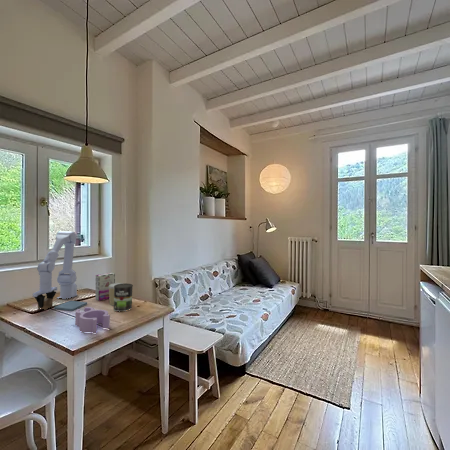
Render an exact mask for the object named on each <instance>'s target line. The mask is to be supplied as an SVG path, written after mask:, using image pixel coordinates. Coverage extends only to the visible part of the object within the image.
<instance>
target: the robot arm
mask: <svg viewBox="0 0 450 450" xmlns="http://www.w3.org/2000/svg"><path fill="white" fill-rule="evenodd" d="M55 234H56V235H55V242H54V244H53V246H52V249H51V250H49V251H48V252H47V254H45V257H44V259H43V260H42V261H41V262H40V263H38V265H37V268H36V269H37V270H36V271H38V276H39V290H37V291H36V292H33V293H32V297H33V298H35V300H36V302H37V306H38V305H39V307H41V308H42V307H43V304H44V298H51V299H53V300H54V297H55V295H56V294H57V291H58V286H52V281H53V280H52V278H53V277H52V276H53V271H54V269H55V265H56V261H57V259H58V257H59V253H60V250H61V249H62V247H63V246H64V254H63V255H64V256H63V266H62V269H61V270H60V271H58V275H57V277H56V281H57V283H58V284H59V285H60V286H59V291H60V292H59V296H57V297H56V299H59V298H62V299H61V300H69V299H71V297H72V298H74V297H77V296H78V293H77V292H78V291H77V290H78V288H77V287H78V286H77V283H76V281H77V272H76V271H75V270H74V269H73V260H74V253H75V251H74V249H75V244H77V234H76V232H75V231H74V230H73V231H68V230H67V231H62V230H59V231H57V233H55ZM66 298H67V299H66ZM68 298H69V299H68Z"/></svg>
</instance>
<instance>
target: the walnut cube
mask: <svg viewBox="0 0 450 450" xmlns="http://www.w3.org/2000/svg"><path fill="white" fill-rule="evenodd" d="M53 302H54V298H53V299H51V298H47V297H45V298H44V304H43V307H42V308H41V307H39V305H38V304H37V309H38V308H41V309H44V310H43V311H47V310H48V308H49V309H51V308H53V307H52V306H53ZM50 307H51V308H50ZM41 309H40V310H41Z"/></svg>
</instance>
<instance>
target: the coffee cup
mask: <svg viewBox="0 0 450 450" xmlns="http://www.w3.org/2000/svg"><path fill="white" fill-rule="evenodd" d="M117 284H124V283H123V282H115V283H114V284H110V285H109V301H108V302H109V305H110V306H111V307H114V286H115V285H117Z"/></svg>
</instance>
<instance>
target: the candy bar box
mask: <svg viewBox="0 0 450 450" xmlns="http://www.w3.org/2000/svg"><path fill="white" fill-rule="evenodd" d="M114 283H116V273H114V272H107V273H102V274H96V275H95V300H96V301H97V302H101V301H105V300H108V299H109V285H110V284H114Z"/></svg>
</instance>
